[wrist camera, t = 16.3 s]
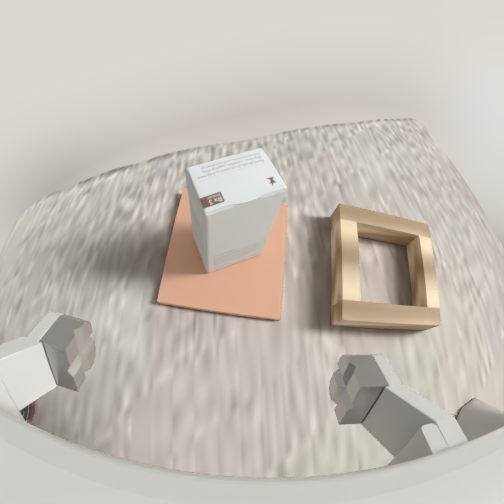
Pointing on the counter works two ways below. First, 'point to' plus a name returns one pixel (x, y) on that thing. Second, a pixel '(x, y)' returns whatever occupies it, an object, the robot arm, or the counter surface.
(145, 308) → the counter surface
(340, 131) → the counter surface
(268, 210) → the skincare box
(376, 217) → the light wooden square frame
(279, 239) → the terracotta tile
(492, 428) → the flask
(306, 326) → the counter surface
